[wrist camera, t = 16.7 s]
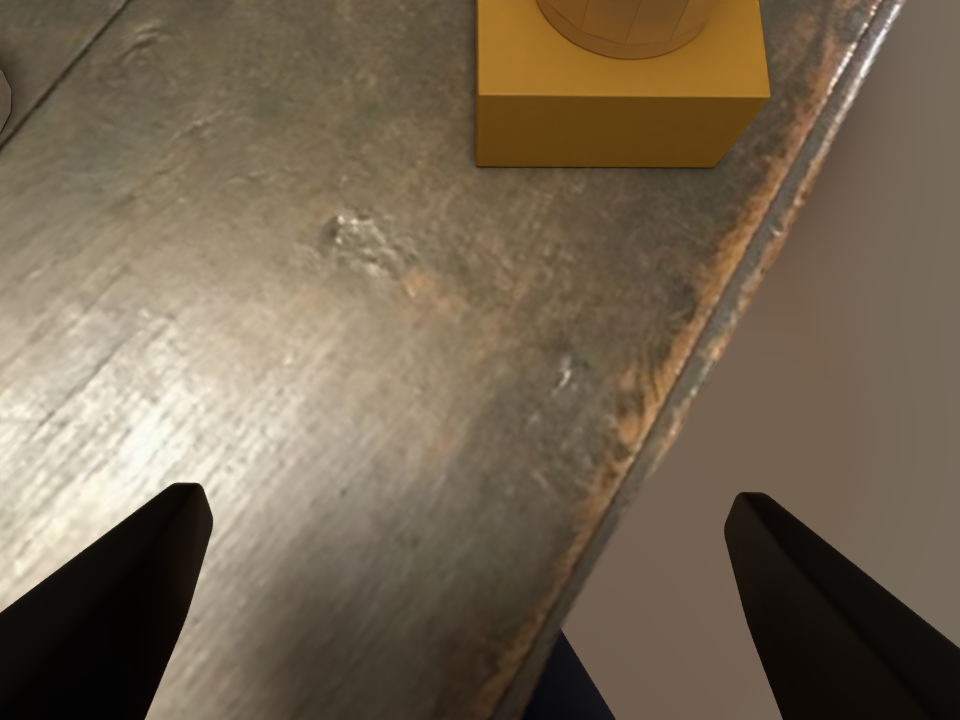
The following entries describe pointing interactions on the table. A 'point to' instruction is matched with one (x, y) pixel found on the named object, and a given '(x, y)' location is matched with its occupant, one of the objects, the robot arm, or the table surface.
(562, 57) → the box
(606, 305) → the table surface
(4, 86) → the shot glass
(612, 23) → the hollow tan tube
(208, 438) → the table surface
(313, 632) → the table surface
